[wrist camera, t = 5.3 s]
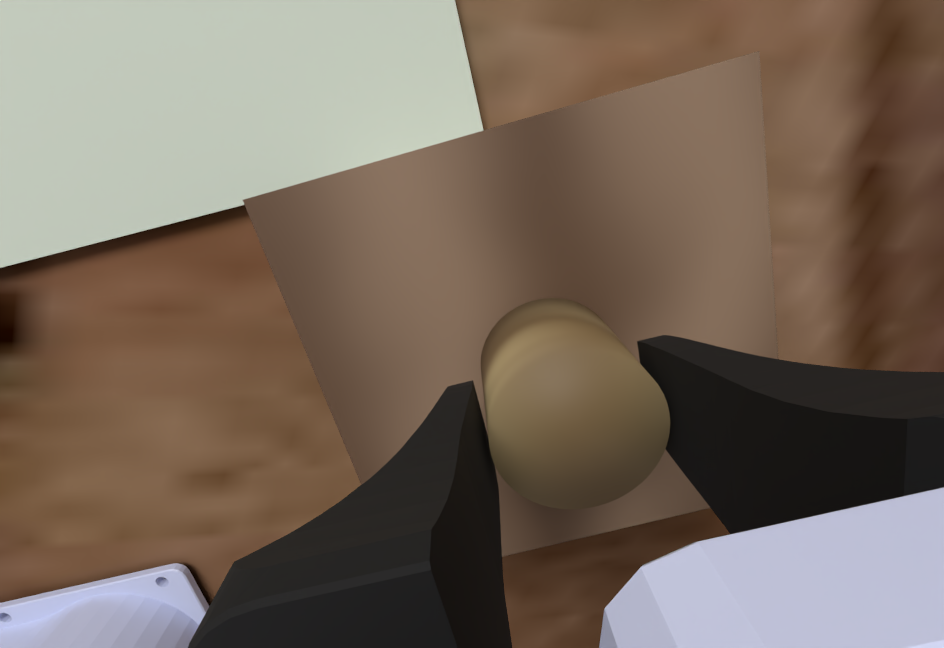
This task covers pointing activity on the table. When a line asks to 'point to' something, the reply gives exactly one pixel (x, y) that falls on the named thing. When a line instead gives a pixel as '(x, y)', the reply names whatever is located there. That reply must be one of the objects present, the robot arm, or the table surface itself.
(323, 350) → the lid
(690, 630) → the robot arm
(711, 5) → the table surface
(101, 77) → the mat
